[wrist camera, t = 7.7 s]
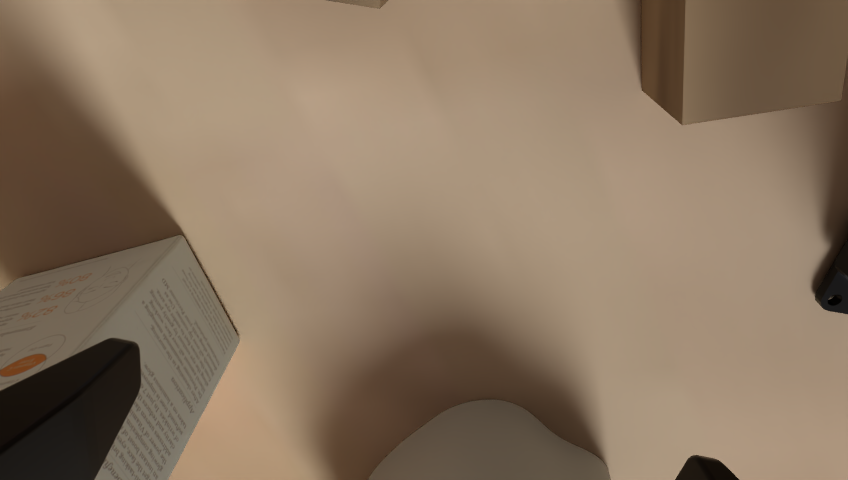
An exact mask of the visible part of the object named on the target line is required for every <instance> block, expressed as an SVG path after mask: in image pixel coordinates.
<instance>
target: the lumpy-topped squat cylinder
mask: <svg viewBox="0 0 848 480" xmlns="http://www.w3.org/2000/svg"><path fill="white" fill-rule="evenodd" d="M368 480H611V478H610V475H609V471H608V468H607V466H606V465H605V464H604V462H603V461H602V460H601V459H600V458H598V457H597V456H595V455H594V454H592V453H590V452H589V451H587V450H585V449H582V448H580V447H578V446H576V445H574V444H571V443H569V442H567V441H565V440H563V439H562V438H560V437H558V436H557V435H555V434H554V433H553V432H551V431H550V430H549V429H548V428H547V427H546V426H544V425H543V424H542V423H541V422H540V421H539V420H538V419H537V418H536V417H535V416H533V415H532V414H531V413H530V412H528V411H527V410H525V409H524V408H522V407H520V406H518V405H516V404H514V403H511V402H507V401H502V400H477V401H471V402H466V403H463V404H459V405H457V406H454V407H452V408H450V409H448V410H446V411H444V412H442V413H440V414H439V415H437V416H436V417H434V418H433V419H431V420H430V421H429V422H427V423H426V424H425V425H423V426H422V427H421V428H419V429H418V430H416V431H415V432H414V433H412V434H411V435H410V436H408V437H407V438H406V439H405V440H404V441H402V442H401V443H400V444H399V445H398V446H397V447H396V448H395V449H394V450H392V451H391V452H390V453H389V454H388V455H387V456H386V457H385V458H384V459H383V460H382V461H381V462H380V464H379V465H378V466H377V467H376V468H375V469H374V471H373V472H372V473H371V475H370V477H369V479H368Z"/></svg>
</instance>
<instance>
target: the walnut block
mask: <svg viewBox="0 0 848 480" xmlns="http://www.w3.org/2000/svg"><path fill="white" fill-rule="evenodd" d="M641 33H642V91H643V92H644V93H646V94H647V95H648V96H649V97H650V98H651V99H653V100H654V101H655V102H656V103H657V104H658V105H659V106H661V107H662V108H663V109H664V110H665V111H666V112H668V113H669V114H670V115H671V116H672V117H673V118H675V119H676V120H677V121H678V122H679V123H680V124H682V125H687V124H693V123H700V122H706V121H713V120H719V119H726V118H732V117H739V116H746V115H752V114H759V113H765V112H772V111H778V110H785V109H791V108H798V107H804V106H811V105H817V104H824V103H830V102H837V101H841V98H842V92H843V85H844V79H845V72H846V66H847V59H848V0H641Z"/></svg>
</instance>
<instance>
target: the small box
mask: <svg viewBox="0 0 848 480" xmlns="http://www.w3.org/2000/svg"><path fill="white" fill-rule="evenodd" d="M108 338H120V339H125V340H129V341H134V342H136V343H137V344H138V345H139V348H140V362H141V387H140V391H139V393H138V396H137V398H136V400H135V402H134V404H133V406H132V408H131V410H130V412H129V414H128V416H127V417H126V419H125V421H124V423H123V425H122V427H121V429H120V431H119V433H118V435H117V437H116V439H115V441H114V443H113V445H112V447H111V449H110V451H109V453H108V455H107V457H106V459H105V461H104V463H103V465H102V467H101V469H100V470H99V472H98V474H97V476H96V478H95V480H168V479H169V477H170V475H171V473H172V471H173V469H174V467H175V465H176V463H177V462H178V460H179V458H180V456H181V454H182V452H183V450H184V448H185V446H186V444H187V442H188V440H189V438H190V436H191V435H192V433H193V431H194V429H195V427H196V425H197V423H198V421H199V419H200V417H201V415H202V414H203V412H204V410H205V408H206V406H207V404H208V402H209V400H210V398H211V396H212V394H213V392H214V390H215V389H216V387H217V385H218V383H219V381H220V379H221V377H222V375H223V373H224V371H225V369H226V367H227V365H228V363H229V362H230V360H231V358H232V356H233V354H234V352H235V350H236V348H237V346H238V344H239V341H240V339H239V337H238V335H237V333H236V332H235V330H234V328H233V326H232V324H231V323H230V321H229V319H228V317H227V315H226V313H225V311H224V309H223V308H222V306H221V304H220V302H219V300H218V298H217V297H216V295H215V293H214V291H213V289H212V287H211V286H210V284H209V282H208V280H207V278H206V276H205V275H204V273H203V271H202V269H201V267H200V266H199V264H198V262H197V260H196V258H195V256H194V255H193V253H192V251H191V249H190V247H189V245H188V243H187V242H186V240H185V238H184V237H183V236H182V235H177V236H174V237H171V238H167V239H164V240H160V241H157V242H153V243H149V244H145V245H142V246H138V247H134V248H130V249H126V250H123V251H119V252H116V253H112V254H108V255H104V256H100V257H97V258H93V259H89V260H85V261H82V262H78V263H74V264H70V265H67V266H63V267H60V268H56V269H52V270H48V271H44V272H41V273H37V274H33V275H29V276H25V277H21V278H17V279H16V280H14V281H13V282H12V283H10V284H9V285H8V286H6V287H5V288H4V289H2V290H1V291H0V390H2V389H4V388H6V387H9V386H11V385H13V384H15V383H17V382H19V381H21V380H23V379H25V378H27V377H29V376H31V375H33V374H35V373H37V372H40V371H42V370H44V369H46V368H48V367H50V366H52V365H54V364H56V363H58V362H60V361H62V360H64V359H66V358H68V357H71V356H73V355H75V354H77V353H79V352H81V351H83V350H85V349H87V348H89V347H91V346H93V345H95V344H97V343H99V342H102V341H104V340H106V339H108Z"/></svg>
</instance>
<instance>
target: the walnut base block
mask: <svg viewBox="0 0 848 480" xmlns="http://www.w3.org/2000/svg"><path fill="white" fill-rule="evenodd" d="M328 1H334V2H341V3H347V4H353V5H360V6H366V7H372V8H379V9H380V8H381V7H382V6H383V5H384V4H385V3H386V2H387V1H388V0H328Z"/></svg>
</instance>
